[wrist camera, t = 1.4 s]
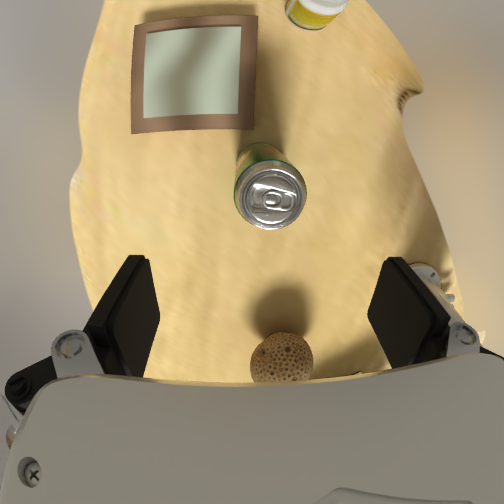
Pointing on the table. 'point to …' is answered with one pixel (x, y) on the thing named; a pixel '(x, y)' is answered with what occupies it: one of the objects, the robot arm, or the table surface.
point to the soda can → (268, 187)
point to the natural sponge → (281, 359)
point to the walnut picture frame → (194, 74)
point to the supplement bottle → (313, 13)
